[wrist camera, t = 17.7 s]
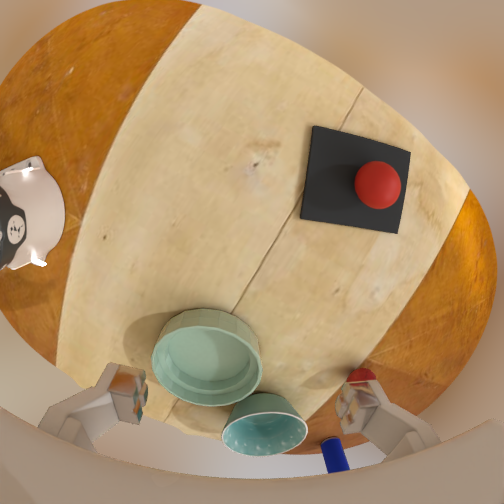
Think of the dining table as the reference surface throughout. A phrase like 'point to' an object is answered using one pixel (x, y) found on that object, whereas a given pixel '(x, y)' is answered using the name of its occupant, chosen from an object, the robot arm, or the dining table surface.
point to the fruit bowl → (207, 358)
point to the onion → (361, 375)
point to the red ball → (377, 184)
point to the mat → (349, 180)
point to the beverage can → (334, 455)
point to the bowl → (263, 426)
